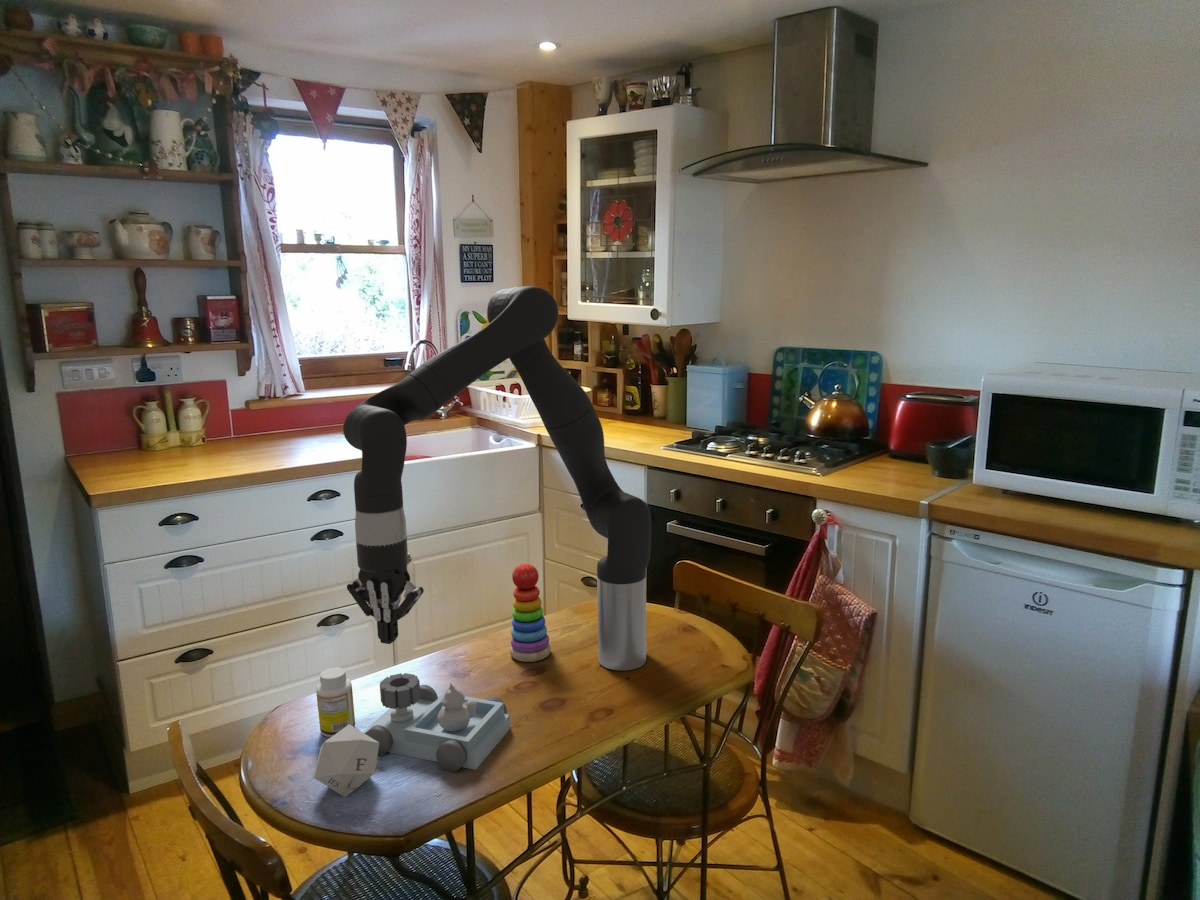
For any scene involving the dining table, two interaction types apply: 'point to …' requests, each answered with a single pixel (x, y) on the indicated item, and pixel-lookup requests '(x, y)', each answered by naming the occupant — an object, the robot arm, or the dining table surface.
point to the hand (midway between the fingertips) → (388, 641)
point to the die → (347, 760)
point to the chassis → (441, 732)
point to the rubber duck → (455, 710)
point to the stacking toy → (528, 617)
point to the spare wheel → (400, 690)
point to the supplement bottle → (334, 701)
